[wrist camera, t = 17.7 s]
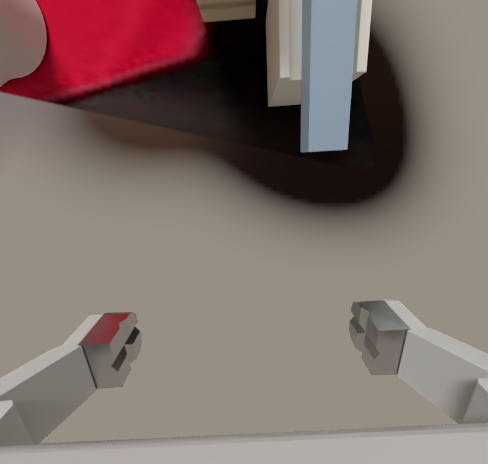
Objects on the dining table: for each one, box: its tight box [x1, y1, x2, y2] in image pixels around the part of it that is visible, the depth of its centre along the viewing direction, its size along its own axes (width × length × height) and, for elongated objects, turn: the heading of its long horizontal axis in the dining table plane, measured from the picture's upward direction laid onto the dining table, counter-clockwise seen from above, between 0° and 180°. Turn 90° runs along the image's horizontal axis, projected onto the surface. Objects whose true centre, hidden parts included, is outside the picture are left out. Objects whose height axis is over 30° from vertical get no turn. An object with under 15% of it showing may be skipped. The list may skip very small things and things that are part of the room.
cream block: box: [266, 0, 372, 107], centre depth 31 cm, size 12×9×16 cm
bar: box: [301, 0, 357, 152], centre depth 23 cm, size 22×4×4 cm, turn 3°
